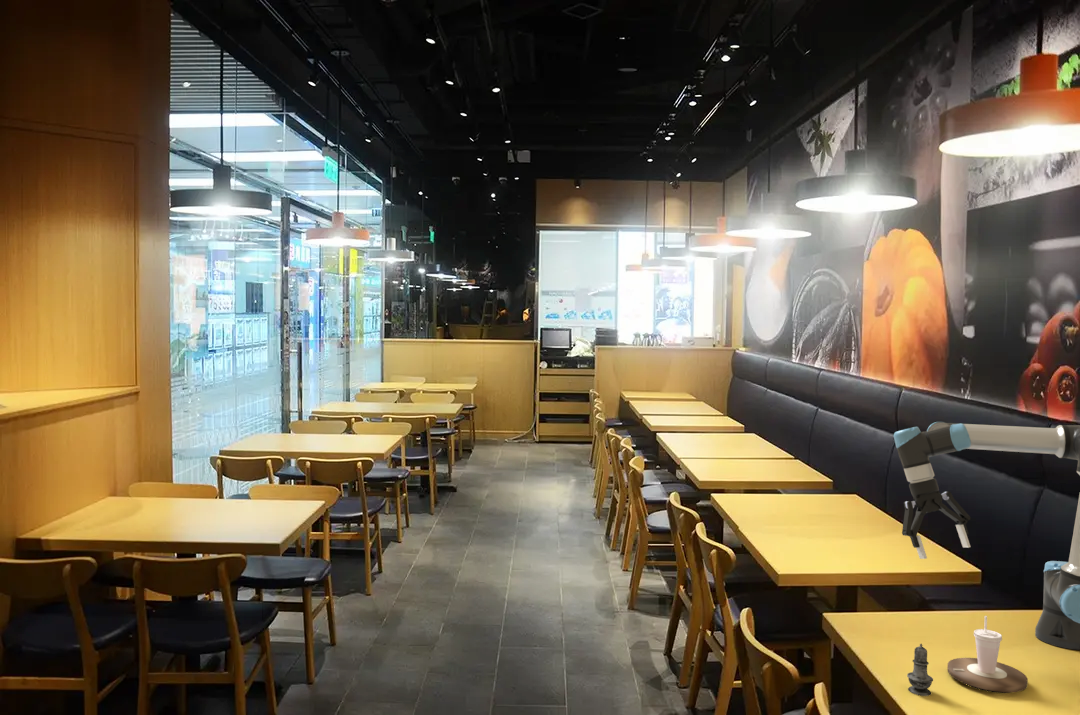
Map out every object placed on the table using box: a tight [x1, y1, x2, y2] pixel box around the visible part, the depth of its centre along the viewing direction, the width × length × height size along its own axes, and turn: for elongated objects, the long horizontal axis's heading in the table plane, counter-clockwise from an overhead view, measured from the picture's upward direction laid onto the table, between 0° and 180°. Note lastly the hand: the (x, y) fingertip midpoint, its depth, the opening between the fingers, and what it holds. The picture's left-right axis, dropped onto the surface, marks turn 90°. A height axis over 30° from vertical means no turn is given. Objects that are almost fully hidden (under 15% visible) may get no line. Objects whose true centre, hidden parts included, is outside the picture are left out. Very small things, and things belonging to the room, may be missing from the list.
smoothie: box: [973, 615, 1003, 674], centre depth 206 cm, size 6×6×14 cm
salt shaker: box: [906, 643, 934, 697], centre depth 199 cm, size 6×6×12 cm
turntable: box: [946, 657, 1029, 693], centre depth 206 cm, size 18×18×2 cm
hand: (945, 553), depth 231 cm, fingers open, 13 cm apart
